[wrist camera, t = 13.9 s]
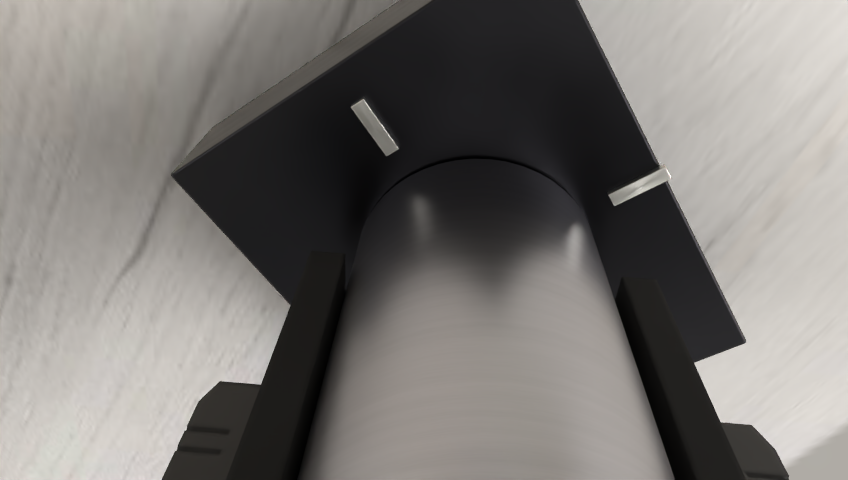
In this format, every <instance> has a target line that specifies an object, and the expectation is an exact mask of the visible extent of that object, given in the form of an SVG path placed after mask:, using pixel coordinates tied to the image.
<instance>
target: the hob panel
mask: <svg viewBox="0 0 848 480" xmlns="http://www.w3.org/2000/svg"><path fill="white" fill-rule="evenodd" d="M464 159H492V160H499V161H506V162H510V163H513V164H517V165H520V166H524V167H526V168H528V169H531V170H533V171H536V172H538V173H540V174H542V175H543V176H545V177H547V178H548V179H550V180H552V181H553V182H555V183H556V184H557V185H558V186H560V187H561V188H562V189H563V190H565V191H566V192H567V193H568V194H569V196H570V197H571V198H572V199H573V200H574V201H575V202H576V203H577V205H578V206H579V208H580V209H581V210H582V212H583V213H584V216H585V218H586V220H587V222H588V224H589V226H590V229H591V232H592V235H593V238H594V241H595V243H596V246H597V249H598V252H599V255H600V258H601V261H602V264H603V267H604V270H605V273H606V276H607V279H608V282H609V285H610V288H611V291H612V294H613V297H614V300H615V299H616V295H617V292H618V288H619V285H620V281H621V278H622V277H631V278H643V279H655V280H657V282H658V284H659V286H660V289H661V291H662V293H663V295H664V298H665V300H666V302H667V304H668V306H669V309H670V311H671V313H672V315H673V318H674V320H675V322H676V324H677V327H678V329H679V331H680V333H681V335H682V338H683V340H684V342H685V344H686V347H687V349H688V351H689V353H690V356H691V358H692V360H693V362H697V361H700V360H702V359H705V358H708V357H710V356H713V355H715V354H718V353H721V352H723V351H726V350H728V349H731V348H734V347H736V346H739V345H742V344H744V343H746V339H745V337H744V335H743V333H742V331H741V329H740V327H739V325H738V323H737V321H736V319H735V317H734V315H733V313H732V311H731V309H730V307H729V305H728V303H727V301H726V299H725V297H724V295H723V293H722V291H721V289H720V287H719V285H718V283H717V281H716V279H715V276H714V274H713V272H712V270H711V268H710V266H709V264H708V262H707V260H706V258H705V256H704V254H703V252H702V250H701V248H700V246H699V244H698V242H697V240H696V238H695V236H694V234H693V232H692V230H691V228H690V226H689V224H688V222H687V220H686V218H685V216H684V214H683V212H682V210H681V208H680V206H679V204H678V202H677V200H676V198H675V196H674V193H673V191H672V189H671V187H670V185H669V183H668V180H670V179H671V176H670V174H669V172H668V170H667V168H666V166H665V164H663V165H661V166H660V165H659V163H658V161H657V159H656V157H655V155H654V153H653V151H652V149H651V147H650V145H649V143H648V141H647V139H646V137H645V135H644V133H643V131H642V129H641V127H640V125H639V123H638V121H637V119H636V117H635V115H634V113H633V110H632V108H631V106H630V104H629V102H628V100H627V98H626V96H625V94H624V92H623V90H622V88H621V86H620V84H619V82H618V80H617V78H616V76H615V74H614V72H613V70H612V68H611V66H610V64H609V62H608V60H607V58H606V56H605V54H604V52H603V50H602V48H601V46H600V44H599V42H598V40H597V38H596V36H595V34H594V32H593V30H592V27H591V25H590V23H589V21H588V19H587V17H586V15H585V13H584V11H583V9H582V7H581V5H580V3H579V1H578V0H400V1H398V2H397V3H396V4H394V5H393V6H391V7H390V8H388V9H387V10H385V11H384V12H382V13H381V14H379V15H378V16H376V17H375V18H373V19H372V20H370V21H369V22H368V23H366V24H365V25H363V26H362V27H360V28H359V29H357V30H356V31H354V32H353V33H351V34H350V35H348V36H347V37H345V38H344V39H342V40H341V41H340V42H338V43H337V44H335V45H334V46H332V47H331V48H329V49H328V50H326V51H325V52H323V53H322V54H320V55H319V56H317V57H316V58H314V59H313V60H312V61H310V62H309V63H307V64H306V65H304V66H303V67H301V68H300V69H298V70H297V71H295V72H294V73H292V74H291V75H289V76H288V77H286V78H285V79H284V80H282V81H281V82H279V83H278V84H276V85H275V86H273V87H272V88H270V89H269V90H267V91H266V92H264V93H263V94H261V95H260V96H258V97H257V98H256V99H254V100H253V101H251V102H250V103H248V104H247V105H245V106H244V107H242V108H241V109H239V110H238V111H236V112H235V113H233V114H232V115H230V116H229V117H228V118H226V119H225V120H223V121H222V122H220V123H219V124H217V125H216V126H214V127H213V128H212V129H211V130H210V131H209V132H208V133H207V134H206V135H205V136H204V138H203V139H202V140H201V141H200V142H199V143H198V144H197V145H196V147H195V148H194V149H193V150H192V151H191V152H190V153H189V155H188V156H187V157H186V158H185V159H184V160H183V161H182V162H181V164H180V165H179V166H178V167H177V168H176V169H175V170H174V171H173V173H172V174H171V176H172V177H173V179H174V180H175V181H176V182H177V183H178V184H179V185H180V186H181V187H182V188H183V189H184V190H185V191H186V193H187V194H188V195H189V196H190V197H191V198H192V199H193V200H194V201H195V202H196V203H197V204H198V206H199V207H200V208H201V209H202V210H203V211H204V212H205V213H206V214H207V215H208V216H209V217H210V219H211V220H212V221H213V222H214V223H215V224H216V225H217V226H218V227H219V228H220V229H221V230H222V231H223V233H224V234H225V235H226V236H227V237H228V238H229V239H230V240H231V241H232V242H233V243H234V244H235V246H236V247H237V248H238V249H239V250H240V251H241V252H242V253H243V254H244V255H245V256H246V257H247V259H248V260H249V261H250V262H251V263H252V264H253V265H254V266H255V267H256V268H257V269H258V270H259V272H260V273H261V274H262V275H263V276H264V277H265V278H266V279H267V280H268V281H269V282H270V283H271V284H272V286H273V287H274V288H275V289H276V290H277V291H278V292H279V293H280V294H281V295H282V296H283V297H284V299H285V300H286V301H287V302H288V303H289V304H290V305H291V303H292V301H293V298H294V295H295V293H296V290H297V287H298V284H299V282H300V279H301V276H302V274H303V271H304V268H305V266H306V263H307V260H308V258H309V255H310V252H311V251H320V252H332V253H344V254H345V278H346V290H347V286H348V282H349V278H350V275H351V271H352V267H353V263H354V259H355V255H356V251H357V248H358V244H359V240H360V236H361V232H362V229H363V227H364V225H365V223H366V220H367V218H368V216H369V215H370V213H371V212H372V210H373V209H374V207H375V206H376V204H377V203H378V202H379V201H380V200H381V199H382V197H383V196H384V195H385V194H386V193H388V192H389V191H390V190H391V189H392V188H393V187H394V186H395V185H397V184H398V183H400V182H401V181H403V180H404V179H406V178H407V177H409V176H411V175H413V174H415V173H417V172H419V171H421V170H423V169H426V168H429V167H432V166H434V165H437V164H441V163H445V162H450V161H455V160H464Z"/></svg>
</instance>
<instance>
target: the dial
mask: <svg viewBox="0 0 848 480" xmlns="http://www.w3.org/2000/svg"><path fill="white" fill-rule="evenodd" d="M297 480H675V478H674V475H673V472H672V469H671V466H670V463H669V460H668V457H667V454H666V451H665V448H664V445H663V442H662V439H661V437H660V434H659V431H658V428H657V425H656V422H655V419H654V416H653V413H652V410H651V407H650V404H649V401H648V398H647V395H646V392H645V389H644V386H643V383H642V380H641V377H640V374H639V371H638V368H637V365H636V362H635V359H634V356H633V353H632V350H631V347H630V344H629V341H628V339H627V336H626V333H625V330H624V327H623V324H622V321H621V318H620V315H619V312H618V309H617V306H616V303H615V300H614V297H613V294H612V291H611V288H610V285H609V282H608V279H607V276H606V273H605V270H604V267H603V264H602V261H601V258H600V255H599V252H598V249H597V246H596V243H595V241H594V238H593V235H592V232H591V229H590V226H589V224H588V222H587V220H586V218H585V216H584V213H583V212H582V210H581V209H580V208H579V206H578V205H577V203H576V202H575V201H574V200H573V199H572V198H571V197H570V196H569V194H568V193H567V192H566V191H565V190H563V189H562V188H561V187H560V186H558V185H557V184H556V183H555V182H553V181H552V180H550V179H548V178H547V177H545V176H543V175H542V174H540V173H538V172H536V171H533V170H531V169H528V168H526V167H524V166H520V165H517V164H513V163H510V162H506V161H499V160H492V159H464V160H455V161H450V162H445V163H441V164H437V165H434V166H432V167H429V168H426V169H423V170H421V171H419V172H417V173H415V174H413V175H411V176H409V177H407V178H406V179H404V180H403V181H401V182H400V183H398V184H397V185H395V186H394V187H393V188H392V189H391V190H390V191H389V192H388V193H386V194H385V195H384V196H383V197H382V199H381V200H380V201H379V202H378V203H377V204H376V206H375V207H374V209H373V210H372V212H371V213H370V215H369V216H368V218H367V220H366V223H365V225H364V227H363V229H362V232H361V236H360V240H359V244H358V248H357V251H356V255H355V259H354V263H353V267H352V271H351V275H350V278H349V282H348V286H347V290H346V294H345V298H344V301H343V305H342V309H341V313H340V317H339V321H338V324H337V328H336V332H335V336H334V340H333V344H332V347H331V351H330V355H329V359H328V363H327V367H326V370H325V374H324V378H323V382H322V386H321V390H320V394H319V397H318V401H317V405H316V409H315V413H314V417H313V420H312V424H311V428H310V432H309V436H308V440H307V443H306V447H305V451H304V455H303V459H302V463H301V466H300V470H299V474H298V478H297Z"/></svg>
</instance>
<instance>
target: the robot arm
mask: <svg viewBox="0 0 848 480" xmlns="http://www.w3.org/2000/svg"><path fill="white" fill-rule="evenodd" d="M345 294H346V278H345V254H344V253H332V252H320V251H311V252H310V255H309V258H308V260H307V263H306V266H305V268H304V271H303V274H302V276H301V279H300V282H299V284H298V287H297V290H296V293H295V295H294V298H293V301H292V303H291V306H290V309H289V311H288V314H287V317H286V319H285V322H284V325H283V327H282V330H281V333H280V335H279V338H278V341H277V343H276V346H275V349H274V352H273V354H272V357H271V360H270V362H269V365H268V368H267V370H266V373H265V376H264V378H263V381H262V384H261V385H257V384H245V383H233V382H222V381H220V382H219V383H218V384H217V385H216V386H214V387H213V388H212V389H211V390H210V391H209V392H208V393H207V394H206V395H205V396H204V397H203V398H202V399H201V400H200V401H199V402H198V404H197V406H196V408H195V410H194V412H193V415H192V417H191V419H190V421H189V423H188V425H187V430H186V431H184V434H183V436H182V438H181V440H180V442H179V444H178V449H177V451H175V453H174V455H173V457H172V459H171V461H170V463H169V465H168V467H167V469H166V472H165V474H164V476H163V478H162V480H297V478H298V474H299V470H300V466H301V463H302V459H303V455H304V451H305V447H306V443H307V440H308V436H309V432H310V428H311V424H312V420H313V417H314V413H315V409H316V405H317V401H318V397H319V394H320V390H321V386H322V382H323V378H324V374H325V370H326V367H327V363H328V359H329V355H330V351H331V347H332V344H333V340H334V336H335V332H336V328H337V324H338V321H339V317H340V313H341V309H342V305H343V301H344V298H345ZM615 303H616V306H617V309H618V312H619V315H620V318H621V321H622V324H623V327H624V330H625V333H626V336H627V339H628V341H629V344H630V347H631V350H632V353H633V356H634V359H635V362H636V365H637V368H638V371H639V374H640V377H641V380H642V383H643V386H644V389H645V392H646V395H647V398H648V401H649V404H650V407H651V410H652V413H653V416H654V419H655V422H656V425H657V428H658V431H659V434H660V437H661V439H662V442H663V445H664V448H665V451H666V454H667V457H668V460H669V463H670V466H671V469H672V472H673V475H674V478H675V480H789V479H788V477H789V475H788V473H787V471H786V469H785V468H784V466H783V464H782V462H781V460H780V458H779V456H778V454H777V452H776V450H775V449H774V448H773V447H772V446H771V445H770V444H769V443H768V441H767V440H766V439H765V438H764V437H763V436H762V435H761V434H760V433H759V432H758V431H757V430H756V429H755V428H754V427H753V426H752V425H744V424H732V423H721V422H720V420H719V418H718V416H717V414H716V411H715V409H714V407H713V405H712V402H711V400H710V398H709V396H708V393H707V391H706V389H705V387H704V385H703V382H702V380H701V378H700V376H699V373H698V371H697V369H696V367H695V364H694V362H693V360H692V358H691V356H690V353H689V351H688V349H687V347H686V344H685V342H684V340H683V338H682V335H681V333H680V331H679V329H678V327H677V324H676V322H675V320H674V318H673V315H672V313H671V311H670V309H669V306H668V304H667V302H666V300H665V298H664V295H663V293H662V291H661V289H660V286H659V284H658V282H657V280H655V279H643V278H631V277H622V278H621V281H620V285H619V288H618V292H617V295H616V299H615Z"/></svg>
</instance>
